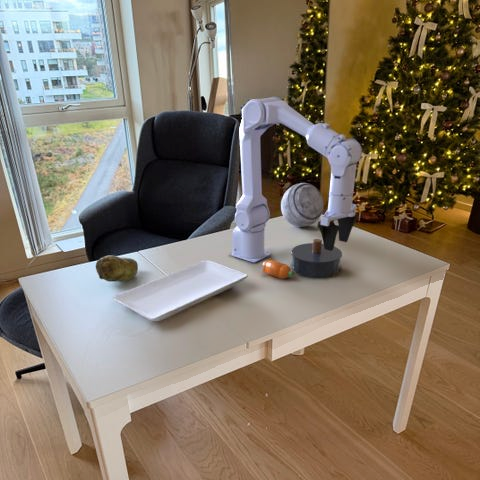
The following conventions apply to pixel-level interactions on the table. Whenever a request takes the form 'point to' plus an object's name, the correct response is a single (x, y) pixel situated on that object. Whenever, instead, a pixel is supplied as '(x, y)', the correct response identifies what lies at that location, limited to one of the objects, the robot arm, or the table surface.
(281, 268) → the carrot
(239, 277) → the tray
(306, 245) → the lid
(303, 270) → the pan
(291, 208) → the decorative orb
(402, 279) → the table surface
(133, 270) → the potato
